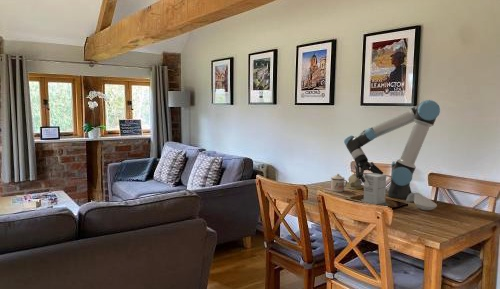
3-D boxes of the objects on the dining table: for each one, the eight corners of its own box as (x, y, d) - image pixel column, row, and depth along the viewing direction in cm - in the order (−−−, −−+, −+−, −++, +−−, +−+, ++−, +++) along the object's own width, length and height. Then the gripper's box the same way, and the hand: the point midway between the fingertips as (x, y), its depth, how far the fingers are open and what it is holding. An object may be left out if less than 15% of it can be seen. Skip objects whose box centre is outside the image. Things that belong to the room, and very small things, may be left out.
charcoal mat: (382, 201, 236) (382, 199, 236) (388, 207, 223) (389, 205, 223) (361, 200, 236) (361, 199, 236) (366, 206, 224) (366, 204, 223)
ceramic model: (365, 189, 271) (366, 175, 270) (350, 189, 269) (351, 175, 268) (356, 185, 285) (357, 172, 284) (342, 185, 283) (343, 172, 282)
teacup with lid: (334, 192, 259) (335, 175, 258) (328, 189, 268) (329, 173, 267) (350, 191, 262) (351, 174, 261) (343, 188, 271) (344, 172, 270)
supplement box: (372, 199, 236) (373, 172, 234) (385, 202, 229) (387, 174, 227) (362, 201, 230) (364, 174, 229) (375, 204, 223) (377, 176, 221)
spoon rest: (440, 212, 215) (441, 199, 214) (421, 212, 213) (421, 199, 213) (418, 201, 238) (418, 190, 237) (400, 201, 237) (400, 190, 236)
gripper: (371, 160, 248) (387, 187, 236) (341, 162, 236) (357, 190, 225) (377, 152, 243) (395, 180, 231) (347, 154, 231) (364, 183, 219)
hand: (376, 185), depth 228 cm, fingers open, 13 cm apart
